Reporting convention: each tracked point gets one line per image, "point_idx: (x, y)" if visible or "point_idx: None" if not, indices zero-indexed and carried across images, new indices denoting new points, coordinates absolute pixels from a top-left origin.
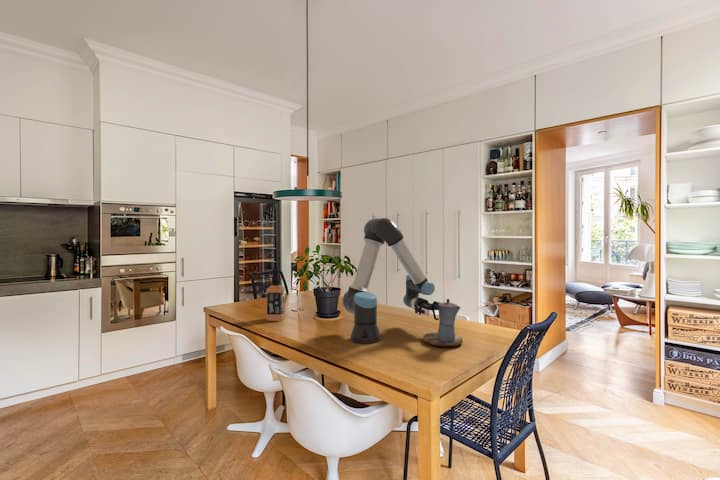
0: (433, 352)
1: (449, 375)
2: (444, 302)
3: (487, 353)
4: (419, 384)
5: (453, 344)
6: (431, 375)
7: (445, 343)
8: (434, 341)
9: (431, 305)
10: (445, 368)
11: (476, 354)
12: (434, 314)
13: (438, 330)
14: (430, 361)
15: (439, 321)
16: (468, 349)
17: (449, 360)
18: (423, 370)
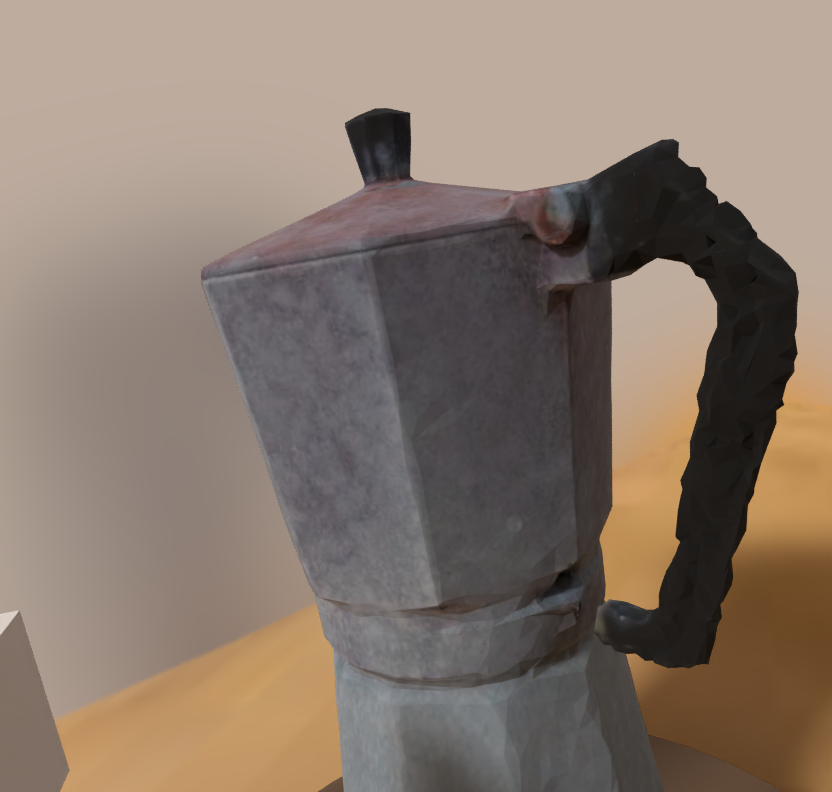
0: (755, 695)
1: (664, 457)
2: (398, 215)
3: (212, 675)
4: (825, 408)
5: None
6: (767, 449)
7: None
8: (735, 783)
9: (783, 289)
10: (673, 496)
11: (326, 657)
12: (696, 539)
13: (641, 718)
14: (782, 552)
15: (601, 582)
16: (307, 763)
17: (617, 569)
18: (823, 474)
